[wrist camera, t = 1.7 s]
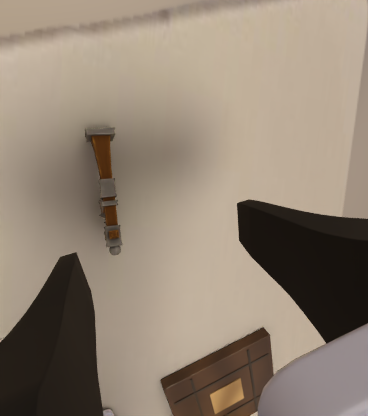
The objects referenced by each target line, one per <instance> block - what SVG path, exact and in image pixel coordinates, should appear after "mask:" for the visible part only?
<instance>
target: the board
mask: <svg viewBox="0 0 368 416" xmlns="http://www.w3.org/2000/svg"><path fill="white" fill-rule="evenodd" d="M272 377H273V364H272V353H271V342H270V335H269V333H268V332H267V331H266V330H265V329H264V328H262V329H260V330H258V331H256V332H254V333H252V334H250V335H248V336H247V337H245V338H243V339H241V340H239V341H237V342H235V343H233V344H231V345H229V346H227V347H225V348H223V349H221V350H219V351H217V352H215V353H213V354H211V355H209V356H207V357H205V358H203V359H201V360H199V361H197V362H195V363H193V364H191V365H189V366H187V367H185V368H183V369H181V370H179V371H177V372H175V373H173V374H171V375H169V376H167V377H165V378H163V379H161V383H162V387H163V390H164V392H165V395H166V397H167V400H168V403H169V405H170V408H171V410H172V413H173V415H174V416H250V415H251V414H253V413H255V412H257V411H258V404H259V400H260V397H261V394H262V391H263V388H264V386H265V385H266V384H267V383H268V381H269V380H270V379H271V378H272Z"/></svg>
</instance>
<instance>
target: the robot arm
mask: <svg viewBox="0 0 368 416" xmlns="http://www.w3.org/2000/svg"><path fill="white" fill-rule="evenodd" d="M237 210H238V228H239V241H240V242H241V244H242V245H243V246H244V248H245V249H246V251H247V252H248V253H249V254H250V256H251V257H252V258H253V259H254V260H255V261H256V262H257V263H258V264H259V265H260V266H261V267H262V268H263V269H264V270H265V271H266V272H267V273H268V274H269V275H270V276H271V277H272V278H273V279H274V280H275V281H276V282H277V283H278V284H279V285H280V286H281V287H282V288H283V289H284V290H285V291H286V292H287V293H288V294H289V295H290V296H291V298H292V299H293V300H294V301H295V303H296V304H297V305H298V306H299V308H300V309H301V310H302V311H303V312H304V314H305V315H306V316H307V318H308V319H309V320H310V322H311V323H312V324H313V326H314V327H315V328H316V330H317V331H318V332H319V334H320V335H321V336H322V338H323V339H324V341H325V342H326V343H327V344H325V345H323V346H321V347H319V348H317V349H315V350H313V351H310V352H308V353H306V354H304V355H302V356H300V357H298V358H296V359H294V360H293V361H291V362H290V363H288V364H287V365H286V366H284V367H283V368H281V369H280V370H278V371H277V372H276V373H275V374H274V375H273V377H272V378H271V379H270V380H269V381H268V383H267V384H266V385H265V386H264V388H263V391H262V394H261V397H260V400H259V404H258V416H368V219H359V218H345V217H336V216H328V215H320V214H314V213H309V212H304V211H299V210H294V209H290V208H286V207H282V206H277V205H273V204H269V203H265V202H260V201H255V200H246V201H243V202H239V203H237ZM0 416H114V414H113V412H112V410H111V409H106V410H104V411H103V408H102V402H101V395H100V388H99V381H98V373H97V356H96V330H95V311H94V305H93V300H92V294H91V290H90V287H89V285H88V282H87V279H86V277H85V274H84V271H83V269H82V266H81V263H80V261H79V258H78V256H77V253H76V252H75V253H72V254H69V255H65V256H62V257H60V258H59V260H58V262H57V263H56V265H55V267H54V269H53V270H52V272H51V274H50V276H49V277H48V279H47V281H46V283H45V284H44V286H43V288H42V289H41V291H40V292H39V294H38V296H37V297H36V299H35V300H34V301H33V303H32V304H31V306H30V307H29V309H28V310H27V312H26V313H25V314H24V316H23V317H22V318H21V319H20V321H19V322H18V323H17V324H16V325H15V327H14V328H13V329H12V330H11V331H10V333H9V334H8V335H7V336H6V337H5V338H4V339H3V340H2V341H1V342H0Z"/></svg>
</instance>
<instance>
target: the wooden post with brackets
mask: <svg viewBox="0 0 368 416" xmlns="http://www.w3.org/2000/svg"><path fill="white" fill-rule="evenodd" d="M114 130H115V128H85V137H86V142H91V143H92V146H93V149H94V153H95V157H96V161H97V165H98V169H99V175H100V179H99V181H98V182H99V185H100V193H101V196H100V199H102V200H99V203H100V207H101V212H102V215H100V217H103V218H105V220H106V221H105V222H104V223H105V224H106V227H104V229H105V232H104V235H105V240H106V242H107V244H106V247H110V249H109V251H110V253H111V254H112V255H118V254H119V253H120V252H121V247H120V246H119V245H122V241H121V233H120V225H118V222H117V212H116V205H118V203H117V202H118V200H115V197H116V196H117V194H116V190H115V178H112V170H111V153H110V141H113V138H114V135H115V131H114Z"/></svg>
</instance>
